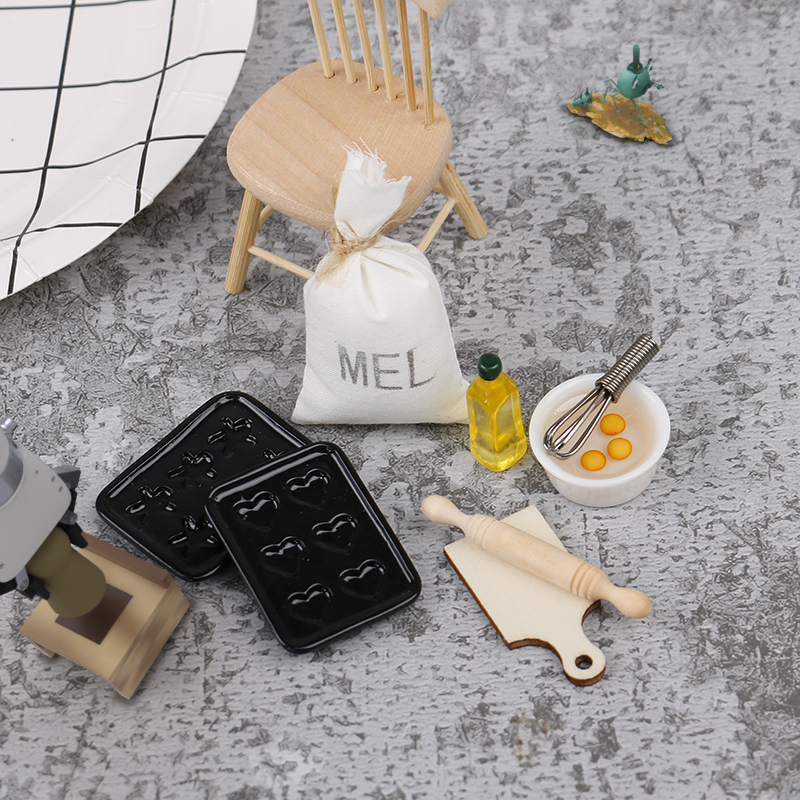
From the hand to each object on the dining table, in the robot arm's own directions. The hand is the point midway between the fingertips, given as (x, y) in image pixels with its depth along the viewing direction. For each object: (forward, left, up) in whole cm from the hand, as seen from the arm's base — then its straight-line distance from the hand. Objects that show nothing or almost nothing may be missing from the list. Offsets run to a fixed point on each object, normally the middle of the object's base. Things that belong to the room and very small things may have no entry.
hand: (55, 565), depth 92 cm
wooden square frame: (0, 0, -18) cm, 18 cm away
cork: (0, 0, -6) cm, 6 cm away
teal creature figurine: (+104, -24, -18) cm, 108 cm away
